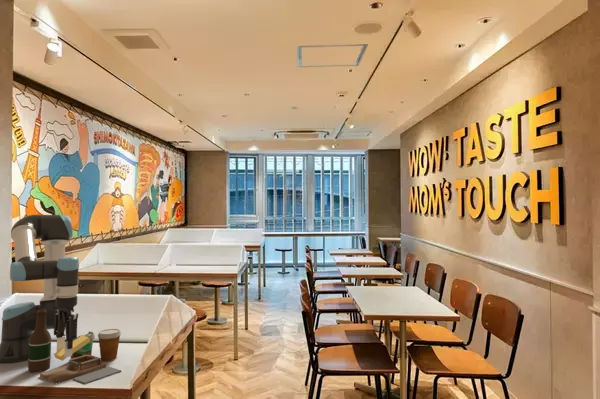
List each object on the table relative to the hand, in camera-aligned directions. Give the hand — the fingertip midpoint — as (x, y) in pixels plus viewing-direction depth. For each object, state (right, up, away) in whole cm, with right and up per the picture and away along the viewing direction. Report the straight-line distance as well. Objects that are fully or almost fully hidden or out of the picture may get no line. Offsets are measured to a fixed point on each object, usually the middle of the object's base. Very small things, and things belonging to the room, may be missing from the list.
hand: (64, 355), depth 159 cm
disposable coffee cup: (+9, -9, +19) cm, 23 cm away
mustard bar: (+2, +1, +3) cm, 4 cm away
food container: (-2, -9, +20) cm, 22 cm away
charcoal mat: (+14, -8, -1) cm, 16 cm away
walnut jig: (+2, -8, +3) cm, 9 cm away
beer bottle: (-14, -8, +5) cm, 17 cm away
